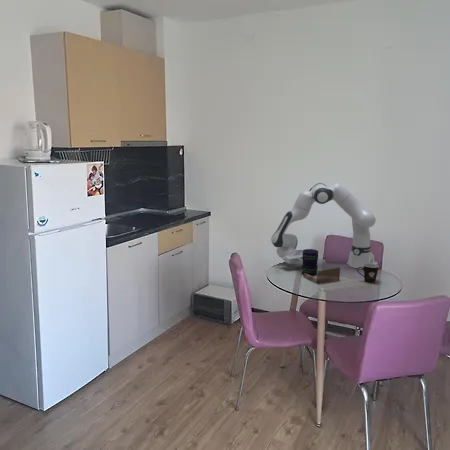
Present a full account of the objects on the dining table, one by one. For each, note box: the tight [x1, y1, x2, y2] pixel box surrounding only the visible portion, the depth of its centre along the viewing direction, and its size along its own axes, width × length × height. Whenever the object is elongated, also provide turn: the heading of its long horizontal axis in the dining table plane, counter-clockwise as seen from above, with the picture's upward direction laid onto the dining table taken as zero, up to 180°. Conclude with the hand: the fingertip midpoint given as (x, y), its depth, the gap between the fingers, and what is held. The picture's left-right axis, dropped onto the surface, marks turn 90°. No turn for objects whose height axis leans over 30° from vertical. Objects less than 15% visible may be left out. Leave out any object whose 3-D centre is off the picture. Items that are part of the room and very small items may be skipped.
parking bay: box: [303, 266, 341, 285], centre depth 275 cm, size 14×16×8 cm
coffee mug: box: [356, 264, 380, 284], centre depth 271 cm, size 12×9×10 cm
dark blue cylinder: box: [301, 248, 319, 277], centre depth 284 cm, size 10×10×15 cm
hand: (305, 261), depth 288 cm, fingers closed
